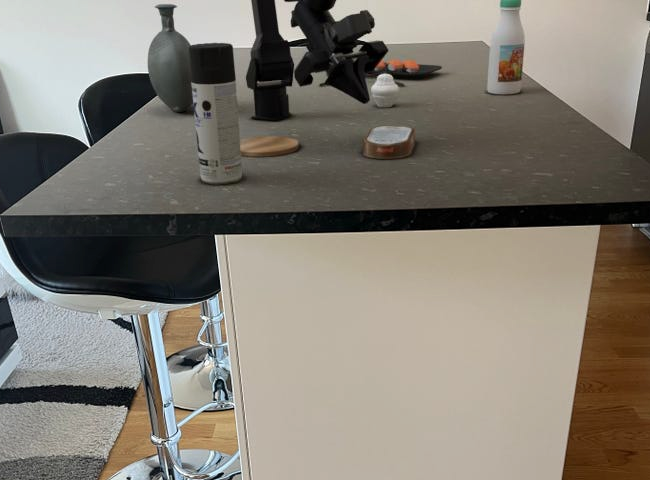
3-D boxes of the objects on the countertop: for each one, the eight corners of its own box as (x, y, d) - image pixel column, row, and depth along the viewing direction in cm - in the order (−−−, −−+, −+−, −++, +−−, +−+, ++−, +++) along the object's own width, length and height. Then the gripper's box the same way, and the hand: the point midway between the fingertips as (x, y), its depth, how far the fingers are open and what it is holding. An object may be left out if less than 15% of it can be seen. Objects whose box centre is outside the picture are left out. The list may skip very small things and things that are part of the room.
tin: (359, 158, 132) (408, 163, 130) (360, 140, 130) (410, 144, 129) (371, 138, 144) (416, 142, 143) (372, 121, 143) (418, 124, 142)
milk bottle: (483, 94, 180) (490, 0, 170) (490, 88, 186) (496, -3, 176) (517, 95, 177) (525, -1, 167) (522, 90, 183) (531, -3, 174)
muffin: (374, 109, 168) (375, 75, 165) (367, 104, 173) (367, 71, 170) (402, 107, 169) (402, 74, 166) (394, 102, 174) (394, 69, 171)
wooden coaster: (219, 153, 138) (219, 148, 138) (254, 138, 147) (254, 134, 147) (277, 159, 133) (277, 154, 133) (310, 143, 142) (310, 139, 142)
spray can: (202, 174, 126) (188, 43, 116) (243, 172, 126) (233, 41, 117) (199, 186, 120) (185, 48, 110) (243, 183, 120) (232, 46, 111)
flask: (207, 102, 181) (196, -1, 170) (200, 117, 166) (189, 5, 156) (157, 105, 181) (144, 1, 170) (146, 120, 166) (131, 8, 155)
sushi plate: (445, 73, 208) (446, 58, 206) (394, 91, 186) (394, 75, 184) (353, 67, 222) (352, 53, 220) (294, 84, 200) (293, 68, 198)
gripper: (302, -2, 122) (353, 78, 121) (380, -10, 134) (428, 63, 132) (272, 47, 131) (320, 122, 130) (348, 36, 143) (392, 105, 141)
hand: (367, 102), depth 133 cm, fingers closed
